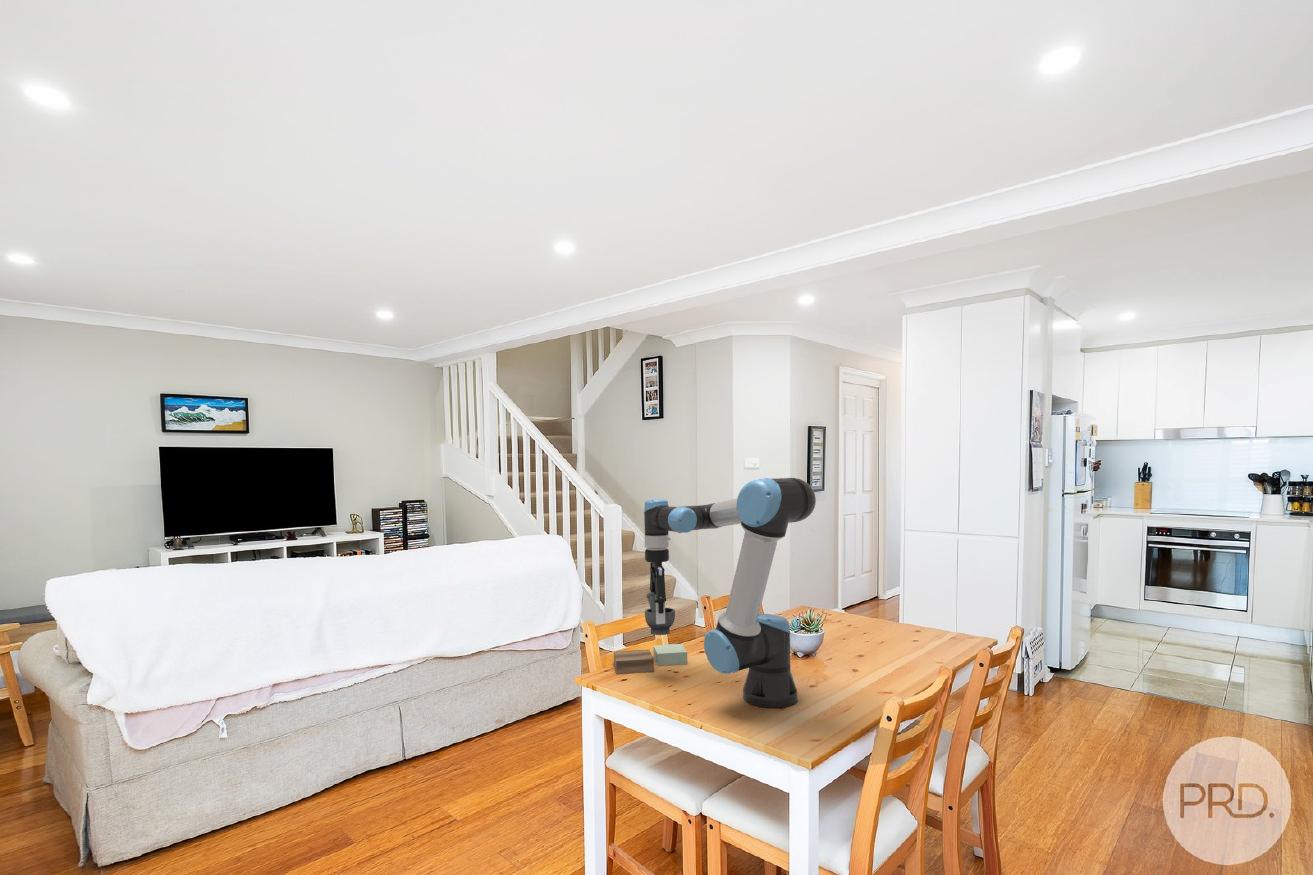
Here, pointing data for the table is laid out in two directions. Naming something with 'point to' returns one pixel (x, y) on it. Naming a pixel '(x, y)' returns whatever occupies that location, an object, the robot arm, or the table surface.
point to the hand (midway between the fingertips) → (657, 619)
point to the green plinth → (670, 654)
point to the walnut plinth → (633, 661)
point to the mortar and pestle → (651, 617)
